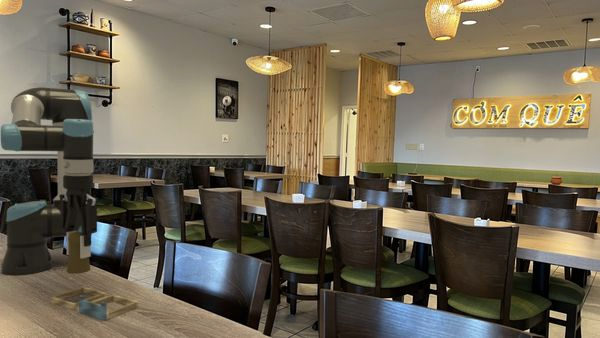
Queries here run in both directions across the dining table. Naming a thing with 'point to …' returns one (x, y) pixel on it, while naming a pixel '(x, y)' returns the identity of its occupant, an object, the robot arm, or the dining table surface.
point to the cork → (76, 256)
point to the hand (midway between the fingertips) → (78, 255)
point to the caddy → (94, 303)
